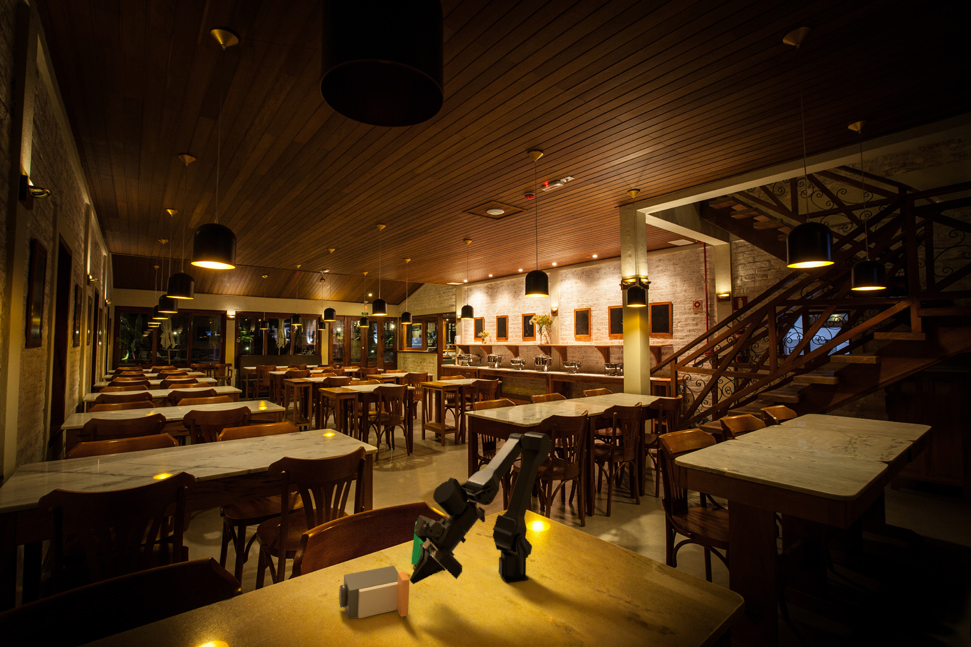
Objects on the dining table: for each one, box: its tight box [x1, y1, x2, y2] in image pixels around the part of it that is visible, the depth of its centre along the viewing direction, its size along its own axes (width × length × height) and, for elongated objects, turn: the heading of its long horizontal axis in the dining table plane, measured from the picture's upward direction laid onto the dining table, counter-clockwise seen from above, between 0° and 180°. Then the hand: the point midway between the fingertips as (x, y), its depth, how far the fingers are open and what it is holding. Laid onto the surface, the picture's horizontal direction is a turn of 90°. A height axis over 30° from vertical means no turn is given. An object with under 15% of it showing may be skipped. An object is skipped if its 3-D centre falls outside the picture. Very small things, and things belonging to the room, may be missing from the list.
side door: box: [357, 571, 410, 619], centre depth 96 cm, size 10×5×8 cm, turn 116°
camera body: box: [338, 565, 399, 620], centre depth 101 cm, size 13×8×6 cm, turn 116°
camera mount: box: [411, 521, 424, 565], centre depth 126 cm, size 12×8×10 cm, turn 0°
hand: (411, 582), depth 98 cm, fingers closed
